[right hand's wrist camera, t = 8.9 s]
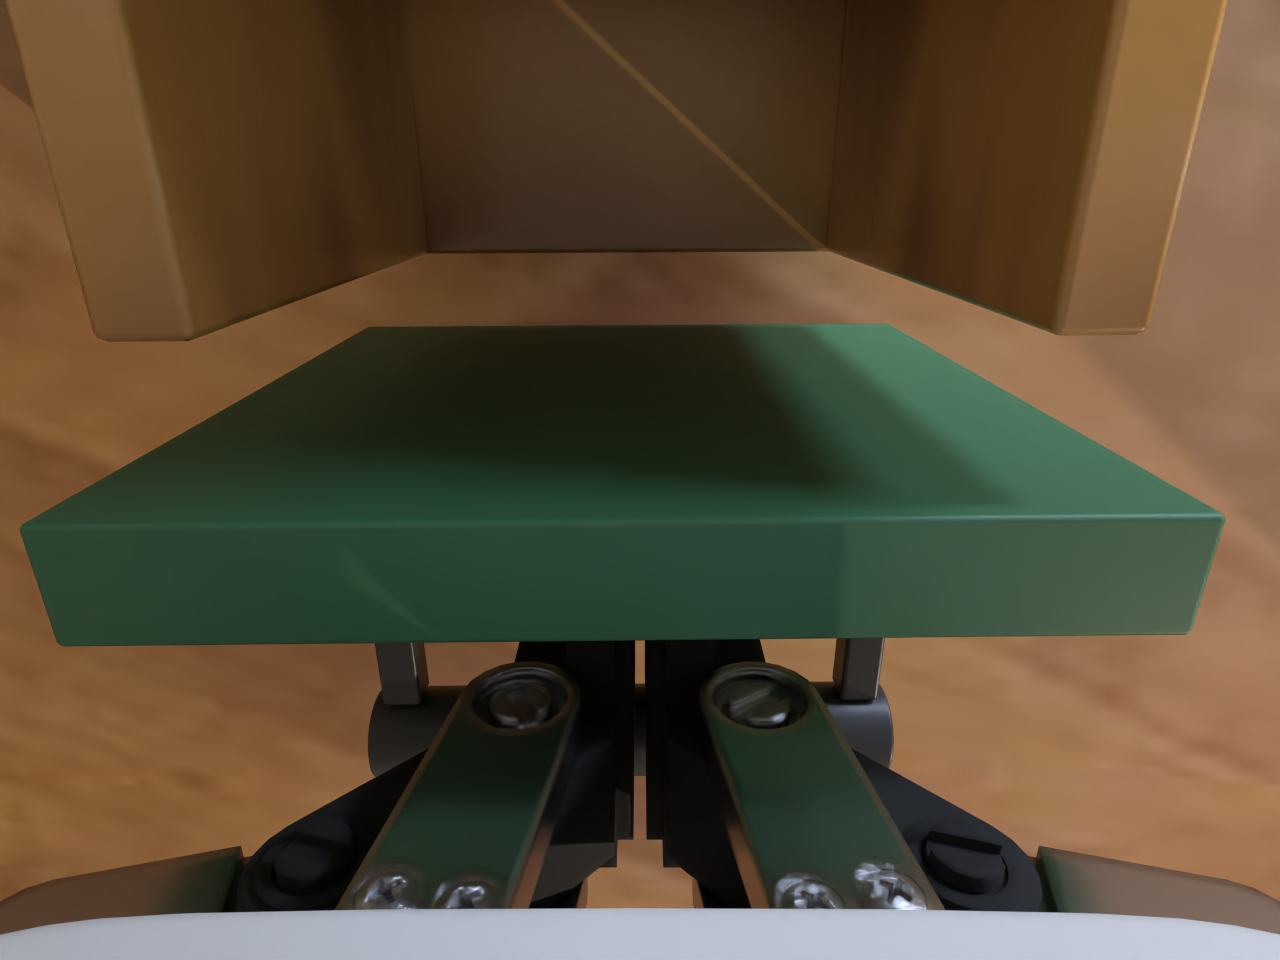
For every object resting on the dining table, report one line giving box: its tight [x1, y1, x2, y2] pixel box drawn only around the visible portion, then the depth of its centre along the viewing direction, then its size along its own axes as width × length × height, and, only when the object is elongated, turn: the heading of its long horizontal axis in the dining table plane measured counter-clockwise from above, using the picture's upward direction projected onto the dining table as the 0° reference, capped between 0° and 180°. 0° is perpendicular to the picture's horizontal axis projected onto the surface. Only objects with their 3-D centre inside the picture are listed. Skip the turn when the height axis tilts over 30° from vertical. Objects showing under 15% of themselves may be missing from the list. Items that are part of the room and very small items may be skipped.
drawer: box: [5, 0, 1228, 777], centre depth 10 cm, size 18×10×9 cm, turn 0°
